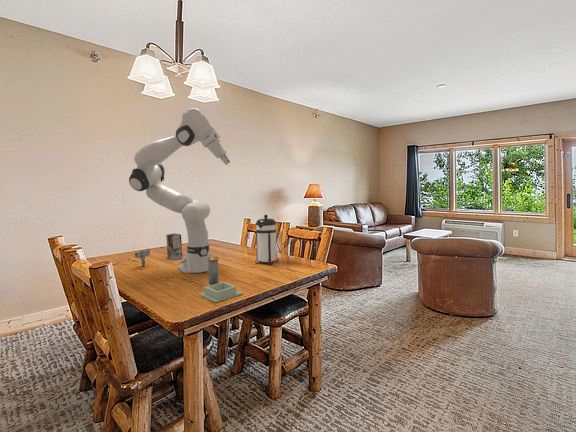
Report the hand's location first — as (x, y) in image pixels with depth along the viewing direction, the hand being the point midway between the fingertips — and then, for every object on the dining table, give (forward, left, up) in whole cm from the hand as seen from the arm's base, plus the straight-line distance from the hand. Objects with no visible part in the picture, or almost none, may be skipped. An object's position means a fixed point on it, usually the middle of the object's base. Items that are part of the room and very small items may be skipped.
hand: (228, 163), depth 150 cm
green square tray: (+12, -15, -59) cm, 62 cm away
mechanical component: (-63, -21, -59) cm, 89 cm away
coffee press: (-16, +37, -59) cm, 72 cm away
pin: (0, -11, -59) cm, 60 cm away
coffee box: (-70, +2, -59) cm, 92 cm away
